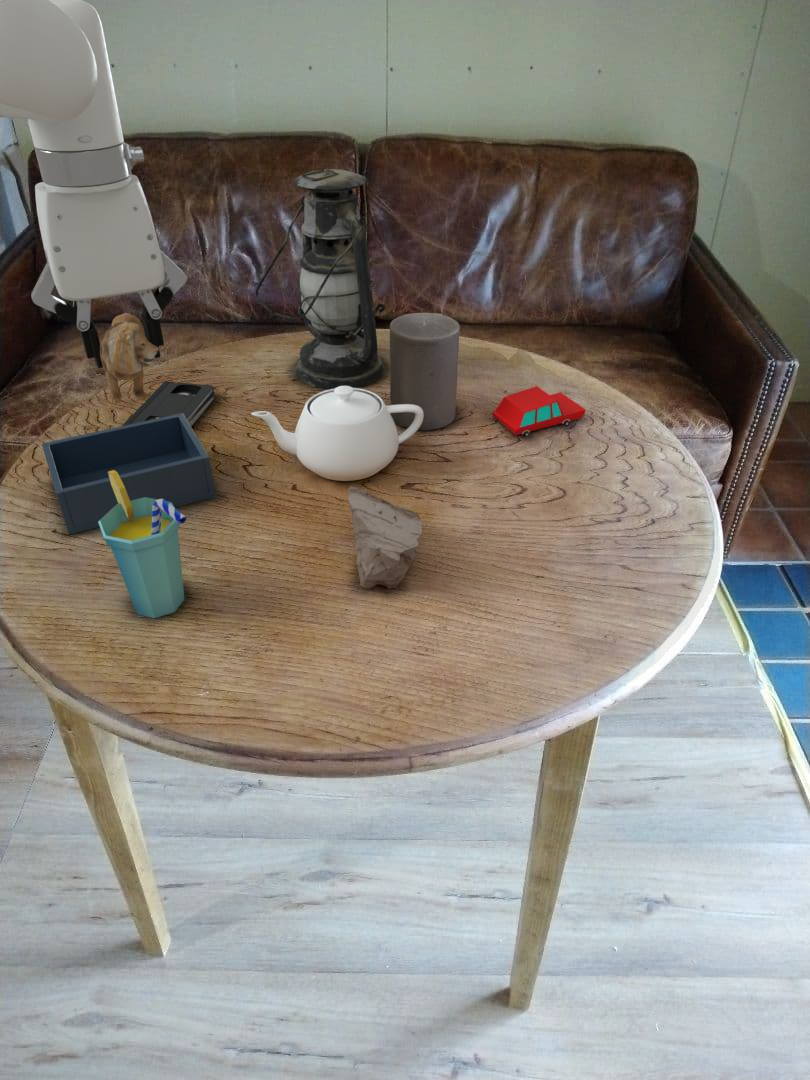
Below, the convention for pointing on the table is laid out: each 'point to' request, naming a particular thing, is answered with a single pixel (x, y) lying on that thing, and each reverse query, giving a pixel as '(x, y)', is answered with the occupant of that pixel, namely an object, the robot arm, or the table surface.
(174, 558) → the cup
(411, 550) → the stone
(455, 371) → the pillar candle
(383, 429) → the teapot
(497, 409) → the toy car
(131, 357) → the lion figurine
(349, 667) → the table surface
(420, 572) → the table surface
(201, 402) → the vhs tape
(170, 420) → the dark blue storage bin
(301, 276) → the lantern
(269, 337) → the table surface
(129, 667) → the table surface
